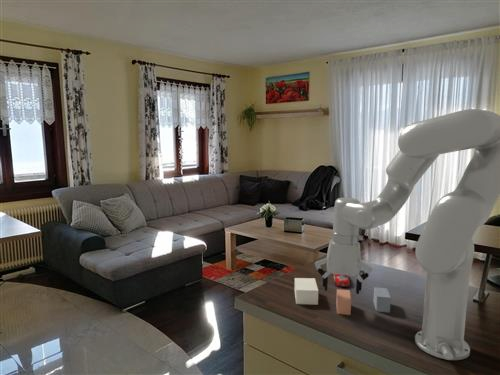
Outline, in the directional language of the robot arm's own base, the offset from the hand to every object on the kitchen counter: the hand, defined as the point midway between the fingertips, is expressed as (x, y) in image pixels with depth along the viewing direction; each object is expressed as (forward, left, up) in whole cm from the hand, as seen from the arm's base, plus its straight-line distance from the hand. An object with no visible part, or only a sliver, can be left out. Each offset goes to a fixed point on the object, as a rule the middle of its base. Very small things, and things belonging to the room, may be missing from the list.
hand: (341, 290), depth 115 cm
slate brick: (+3, -13, -6) cm, 15 cm away
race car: (+22, -1, -6) cm, 23 cm away
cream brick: (+5, +11, -6) cm, 14 cm away
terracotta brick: (-1, -1, -6) cm, 6 cm away
